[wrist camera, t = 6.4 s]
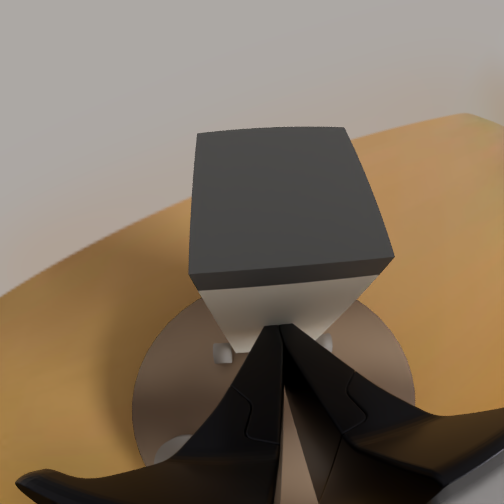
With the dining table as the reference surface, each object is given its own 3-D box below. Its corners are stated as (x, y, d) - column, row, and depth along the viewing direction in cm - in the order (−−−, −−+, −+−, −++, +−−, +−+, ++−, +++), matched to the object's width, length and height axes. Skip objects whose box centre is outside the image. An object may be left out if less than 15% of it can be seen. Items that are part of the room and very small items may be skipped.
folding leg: (308, 346, 13) (394, 257, 5) (235, 352, 13) (188, 274, 5) (300, 279, 15) (344, 127, 6) (232, 285, 15) (197, 133, 6)
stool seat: (398, 491, 11) (423, 507, 8) (162, 516, 11) (143, 538, 8) (376, 280, 18) (398, 258, 14) (147, 299, 17) (125, 280, 14)
